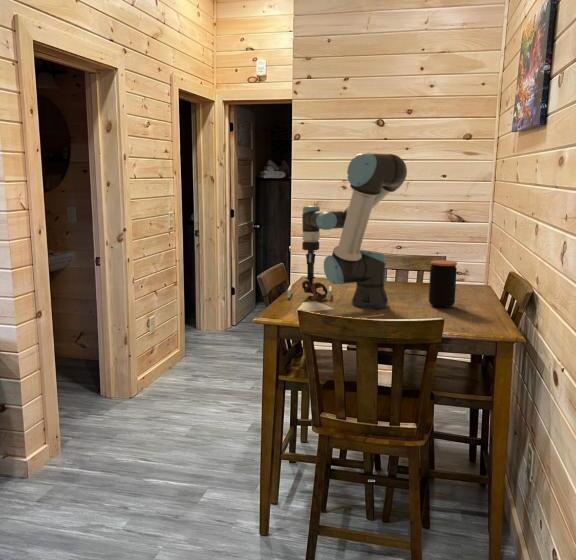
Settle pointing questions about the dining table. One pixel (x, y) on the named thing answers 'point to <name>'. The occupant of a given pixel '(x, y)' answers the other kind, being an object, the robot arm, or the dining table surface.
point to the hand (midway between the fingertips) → (310, 293)
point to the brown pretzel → (291, 292)
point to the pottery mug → (314, 290)
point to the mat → (314, 306)
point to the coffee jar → (442, 283)
